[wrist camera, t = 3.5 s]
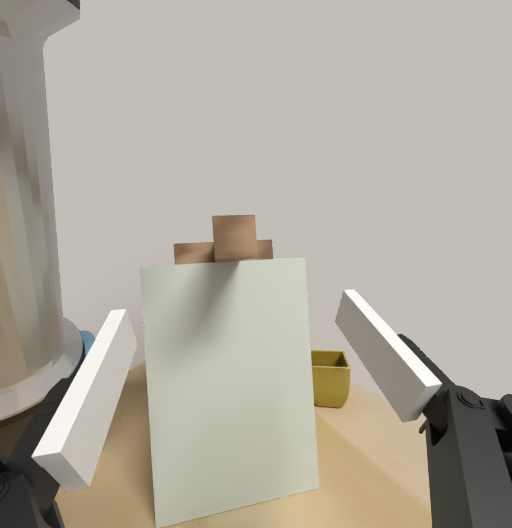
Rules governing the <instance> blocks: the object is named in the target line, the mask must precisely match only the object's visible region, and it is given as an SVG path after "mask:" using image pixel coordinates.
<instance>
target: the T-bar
mask: <svg viewBox="0 0 512 528" xmlns="http://www.w3.org/2000/svg"><path fill="white" fill-rule="evenodd" d="M212 221H213V237H214V242H205V243H182V244H174V255H175V265H180V264H197V263H214V262H231V261H248V260H265V259H273V251H272V240H256V227H255V215H233V216H232V215H229V216H212Z"/></svg>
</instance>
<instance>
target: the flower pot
mask: <svg viewBox="0 0 512 528" xmlns="http://www.w3.org/2000/svg"><path fill="white" fill-rule="evenodd" d="M311 362H312V378H313V394H314V403H315V405H316V406H324V407H337V408H341V407H342V406H343V405H344V404H345V402H346V400H347V398H348V394H349V385H350V365H349V363H348V361H347V359H346V356H345V353H344V352H343V351H322V350H317V351H316V350H311Z"/></svg>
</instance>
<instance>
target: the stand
mask: <svg viewBox="0 0 512 528" xmlns="http://www.w3.org/2000/svg"><path fill="white" fill-rule="evenodd" d="M140 275H141V291H142V307H143V324H144V340H145V355H146V356H145V357H146V374H147V390H148V406H149V423H150V439H151V456H152V472H153V489H154V505H155V522H156V528H161V527H165V526H169V525H173V524H177V523H181V522H185V521H189V520H193V519H197V518H201V517H205V516H209V515H213V514H217V513H221V512H225V511H229V510H233V509H237V508H241V507H245V506H249V505H253V504H257V503H261V502H266V501H270V500H274V499H278V498H282V497H286V496H290V495H294V494H298V493H302V492H306V491H310V490H314V489H318V488H319V474H318V458H317V442H316V426H315V410H314V394H313V378H312V362H311V348H310V347H311V345H310V331H309V330H310V329H309V313H308V298H307V282H306V265H305V257H300V258H283V259H265V260H248V261H231V262H214V263H197V264H180V265H163V266H146V267H140Z"/></svg>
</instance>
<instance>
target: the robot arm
mask: <svg viewBox="0 0 512 528" xmlns="http://www.w3.org/2000/svg"><path fill="white" fill-rule="evenodd" d="M79 19H80V0H0V528H65V527H64V524H63V521H62V518H61V515H60V512H59V509H58V506H57V503H56V501H55V500H54V498H55V496H56V494H57V491H58V489H59V486H60V487H61V488H62V489H63V490H64V491H65V492H68V491H73V490H78V489H82V488H87V487H90V484H91V481H92V478H93V475H94V472H95V469H96V466H97V463H98V460H99V457H100V454H101V451H102V448H103V445H104V442H105V439H106V436H107V433H108V430H109V427H110V424H111V421H112V418H113V415H114V412H115V409H116V406H117V403H118V400H119V397H120V394H121V391H122V388H123V385H124V382H125V379H126V377H127V374H128V371H129V367H130V364H131V361H132V359H133V356H134V353H135V350H136V347H137V341H136V338H135V335H134V331H133V328H132V325H131V322H130V319H129V316H128V313H127V310H126V309H122V310H112V311H111V312H110V314H109V316H108V317H107V319H106V321H105V323H104V325H103V327H102V328H101V330H100V332H99V334H98V336H97V338H96V339H95V337H94V336H93V334H92V333H90V332H88V331H80V330H78V328H77V327H76V326H75V325H74V324H73V323H72V322H71V321H69V320H68V319H66V318H64V317H63V312H62V300H61V286H60V274H59V261H58V248H57V235H56V222H55V209H54V195H53V182H52V168H51V156H50V142H49V129H48V115H47V102H46V88H45V75H44V63H43V46H44V43H45V41H46V40H47V38H48V37H49V36H50V35H52V34H54V33H56V32H58V31H59V30H61V29H63V28H65V27H66V26H68V25H70V24H72V23H73V22H75V21H77V20H79ZM335 322H336V324H337V326H338V327H339V329H340V330H341V331H342V333H343V334H344V336H345V337H346V339H347V340H348V342H349V343H350V345H351V346H352V348H353V349H354V351H355V352H356V354H357V355H358V357H359V358H360V360H361V361H362V362H363V364H364V365H365V367H366V369H367V370H368V371H369V373H370V374H371V376H372V377H373V379H374V381H375V382H376V384H377V385H378V386H379V388H380V389H381V391H382V392H383V394H384V395H385V397H386V398H387V400H388V401H389V403H390V404H391V406H392V407H393V409H394V410H395V412H396V413H397V415H398V416H399V418H400V419H401V421H402V422H408V421H413V420H417V419H418V417H419V416H420V415H421V413H423V414H424V415H425V417H426V418H427V419H426V421H425V422H424V423H423V425H422V426H421V427H420V429H419V433H420V434H422V433H423V431H424V430H425V429H426V443H427V457H428V471H429V486H430V500H431V514H432V528H512V394H507V395H504V396H503V397H502V398H501V399H500V400H494V399H487V398H481V397H480V396H478V395H477V394H476V393H474V392H473V391H471V390H469V389H467V388H465V387H462V386H456V385H455V384H454V383H453V382H452V381H451V380H450V379H449V378H448V377H447V376H446V375H445V374H444V373H443V372H442V371H441V370H440V369H439V368H438V367H437V366H436V365H435V364H434V363H433V362H432V361H431V360H430V359H429V358H427V357H426V355H425V354H424V353H423V352H422V351H420V349H419V348H418V347H417V346H416V344H415V343H413V341H411V340H410V339H408V338H407V337H405V336H404V335H402V334H398V335H396V334H395V333H394V331H393V330H392V329H391V328H390V327H389V326H388V325H387V324H386V323H385V322H384V321H383V320H382V319H381V318H380V317H379V316H378V314H377V313H376V312H375V311H374V310H373V309H372V308H371V307H370V306H369V305H368V304H367V303H366V302H365V300H364V299H363V298H362V297H361V296H359V294H358V293H357V292H356V291H355V290H354V289H353V290H344V291H343V294H342V298H341V301H340V305H339V309H338V313H337V316H336V320H335Z"/></svg>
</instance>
